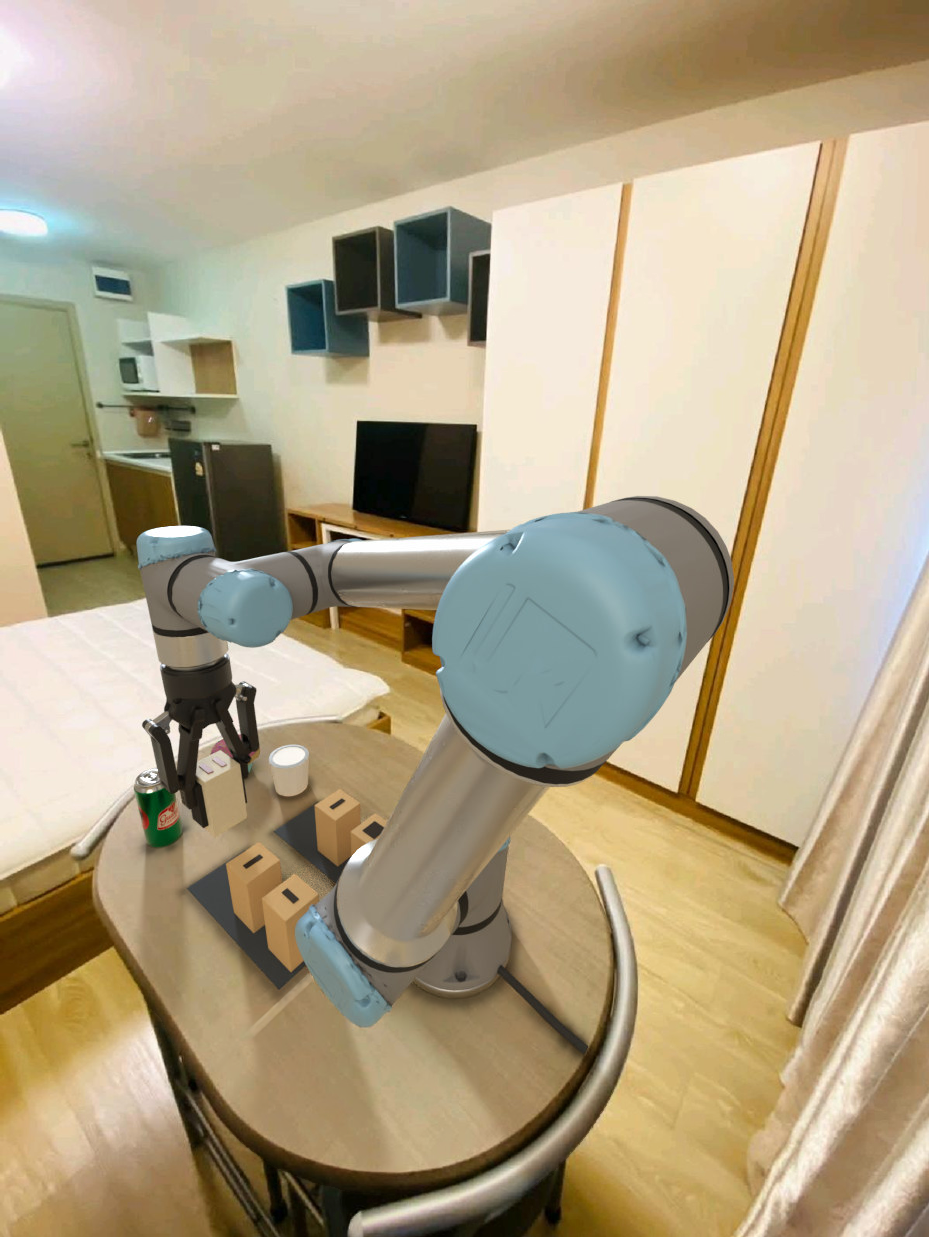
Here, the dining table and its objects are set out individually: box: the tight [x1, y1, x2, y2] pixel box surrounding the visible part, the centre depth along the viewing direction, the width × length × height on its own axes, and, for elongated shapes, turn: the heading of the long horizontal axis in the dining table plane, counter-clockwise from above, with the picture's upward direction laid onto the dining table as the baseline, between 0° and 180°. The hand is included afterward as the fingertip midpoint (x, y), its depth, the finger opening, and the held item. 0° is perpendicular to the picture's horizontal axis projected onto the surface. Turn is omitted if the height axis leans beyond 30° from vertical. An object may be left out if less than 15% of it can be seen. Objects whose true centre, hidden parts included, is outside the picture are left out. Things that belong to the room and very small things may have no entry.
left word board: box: [186, 841, 320, 991], centre depth 70 cm, size 22×9×10 cm, turn 53°
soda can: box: [133, 767, 183, 849], centre depth 80 cm, size 5×5×12 cm
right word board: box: [273, 788, 388, 884], centre depth 80 cm, size 22×9×10 cm, turn 53°
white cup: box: [268, 744, 310, 797], centre depth 93 cm, size 7×7×7 cm
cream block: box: [195, 750, 249, 838], centre depth 70 cm, size 5×5×9 cm
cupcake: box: [209, 733, 261, 773], centre depth 95 cm, size 9×8×12 cm
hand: (220, 810), depth 71 cm, fingers closed on cream block, 5 cm apart
